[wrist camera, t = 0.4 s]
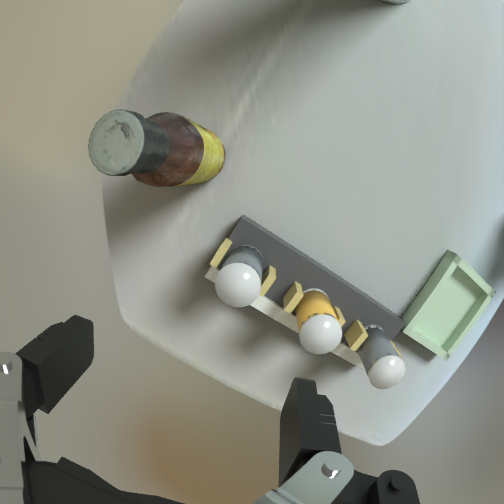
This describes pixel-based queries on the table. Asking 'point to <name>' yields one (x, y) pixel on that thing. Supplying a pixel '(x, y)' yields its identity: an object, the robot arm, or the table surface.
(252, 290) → the dome-capped grey cylinder
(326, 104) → the table surface
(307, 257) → the fuse block
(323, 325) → the cylinder
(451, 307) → the tray
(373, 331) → the cylinder
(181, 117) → the sauce bottle
